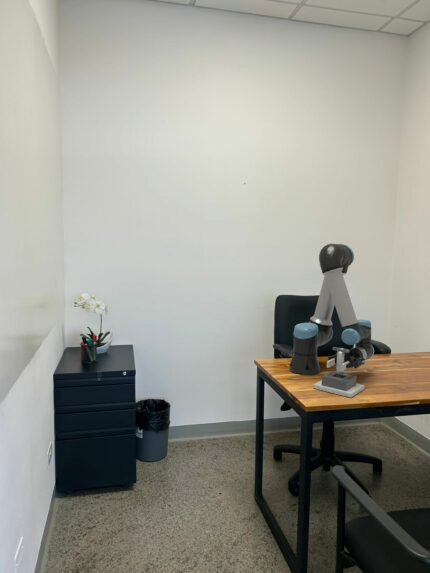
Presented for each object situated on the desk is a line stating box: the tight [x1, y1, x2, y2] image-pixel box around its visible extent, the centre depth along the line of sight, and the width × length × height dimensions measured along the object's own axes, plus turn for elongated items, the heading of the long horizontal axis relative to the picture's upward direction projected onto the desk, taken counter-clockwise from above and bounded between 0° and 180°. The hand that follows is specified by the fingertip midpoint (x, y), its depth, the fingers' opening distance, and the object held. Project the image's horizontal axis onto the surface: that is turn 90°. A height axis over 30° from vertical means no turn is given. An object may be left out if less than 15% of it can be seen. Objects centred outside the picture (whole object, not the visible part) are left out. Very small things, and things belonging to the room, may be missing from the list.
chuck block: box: [312, 370, 366, 398], centre depth 176 cm, size 17×15×6 cm
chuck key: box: [332, 346, 350, 379], centre depth 175 cm, size 8×3×16 cm, turn 50°
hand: (334, 366), depth 171 cm, fingers open, 6 cm apart
